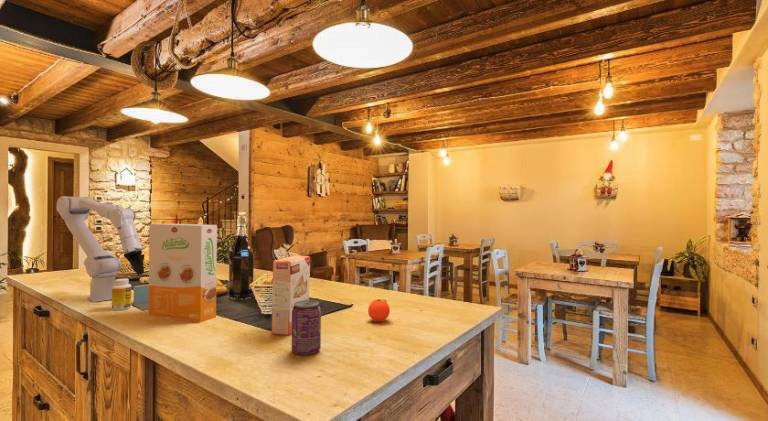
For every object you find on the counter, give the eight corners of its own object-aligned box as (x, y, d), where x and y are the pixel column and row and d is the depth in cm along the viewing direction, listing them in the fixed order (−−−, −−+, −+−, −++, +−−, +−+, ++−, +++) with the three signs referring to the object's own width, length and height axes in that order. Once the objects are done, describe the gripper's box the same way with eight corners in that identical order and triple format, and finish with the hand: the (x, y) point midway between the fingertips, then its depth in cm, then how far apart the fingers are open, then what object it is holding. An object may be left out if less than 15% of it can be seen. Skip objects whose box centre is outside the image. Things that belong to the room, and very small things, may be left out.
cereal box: (215, 317, 122) (217, 225, 122) (200, 322, 116) (201, 225, 116) (165, 310, 130) (166, 223, 130) (148, 314, 124) (149, 224, 124)
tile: (133, 303, 138) (133, 286, 138) (151, 301, 143) (151, 283, 143) (134, 304, 137) (135, 286, 137) (153, 301, 142) (153, 284, 142)
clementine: (378, 316, 126) (378, 294, 126) (395, 319, 122) (395, 297, 122) (363, 321, 119) (363, 299, 119) (381, 325, 115) (381, 302, 115)
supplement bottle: (126, 310, 129) (127, 280, 129) (108, 311, 128) (108, 281, 128) (133, 306, 135) (134, 277, 135) (116, 307, 133) (116, 278, 133)
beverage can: (308, 344, 99) (308, 298, 99) (326, 350, 94) (326, 302, 94) (285, 351, 93) (286, 303, 93) (303, 359, 89) (304, 308, 89)
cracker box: (290, 336, 105) (291, 261, 105) (270, 334, 106) (271, 260, 106) (310, 321, 118) (311, 255, 118) (292, 320, 120) (293, 254, 120)
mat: (132, 305, 136) (132, 304, 136) (159, 300, 143) (159, 300, 143) (143, 310, 129) (143, 309, 129) (171, 305, 136) (171, 304, 136)
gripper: (139, 231, 137) (150, 266, 136) (143, 239, 150) (153, 271, 148) (116, 237, 134) (127, 273, 132) (122, 244, 146) (132, 277, 145)
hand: (139, 272), depth 140 cm, fingers open, 7 cm apart
